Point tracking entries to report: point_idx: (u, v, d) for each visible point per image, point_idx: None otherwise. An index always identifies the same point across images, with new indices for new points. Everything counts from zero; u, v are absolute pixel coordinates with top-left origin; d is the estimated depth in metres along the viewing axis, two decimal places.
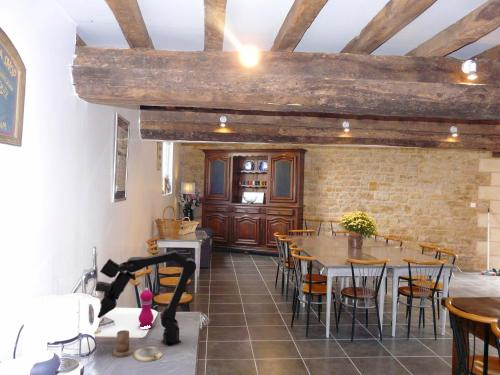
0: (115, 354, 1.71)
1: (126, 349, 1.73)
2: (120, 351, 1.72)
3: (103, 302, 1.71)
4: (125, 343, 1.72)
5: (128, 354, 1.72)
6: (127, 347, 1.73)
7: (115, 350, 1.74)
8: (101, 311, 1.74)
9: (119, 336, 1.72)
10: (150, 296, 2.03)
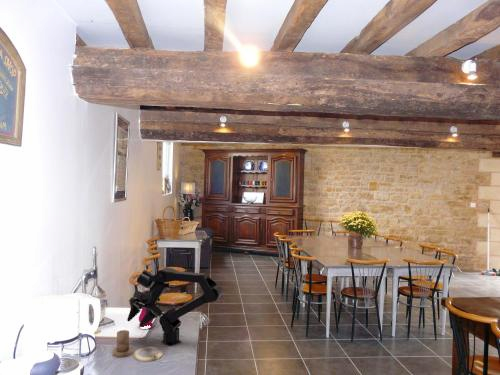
0: (115, 354, 1.71)
1: (126, 349, 1.73)
2: (120, 351, 1.72)
3: (154, 309, 1.75)
4: (125, 343, 1.72)
5: (128, 354, 1.72)
6: (127, 347, 1.73)
7: (115, 350, 1.74)
8: (145, 319, 1.76)
9: (119, 336, 1.72)
10: None
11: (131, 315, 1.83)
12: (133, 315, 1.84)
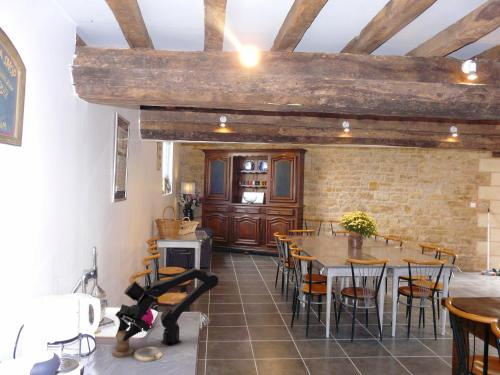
0: (115, 354, 1.71)
1: (126, 349, 1.73)
2: (120, 351, 1.72)
3: (141, 325, 1.70)
4: (125, 343, 1.72)
5: (129, 354, 1.72)
6: (127, 347, 1.74)
7: (115, 350, 1.74)
8: (129, 333, 1.72)
9: (119, 336, 1.72)
10: None
11: None
12: None
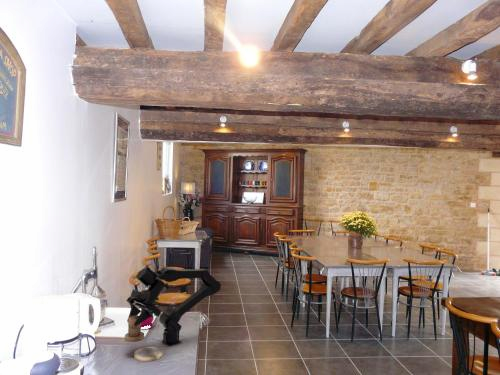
0: (127, 339, 1.71)
1: (138, 334, 1.73)
2: (132, 336, 1.72)
3: (152, 309, 1.69)
4: (136, 328, 1.72)
5: (140, 338, 1.72)
6: (139, 332, 1.73)
7: (126, 335, 1.73)
8: (140, 318, 1.72)
9: (131, 321, 1.72)
10: None
11: None
12: None
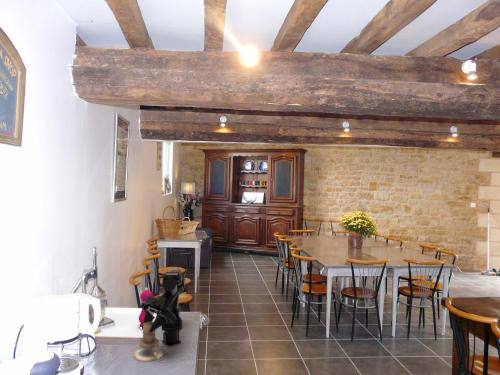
0: (142, 345, 1.70)
1: (153, 340, 1.72)
2: (147, 342, 1.71)
3: (168, 316, 1.69)
4: (151, 334, 1.71)
5: (155, 345, 1.71)
6: (154, 338, 1.72)
7: (141, 341, 1.72)
8: (155, 325, 1.71)
9: (146, 327, 1.71)
10: None
11: None
12: None
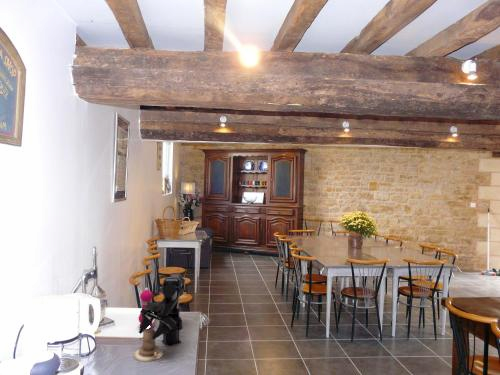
0: (142, 353, 1.70)
1: (153, 348, 1.72)
2: (147, 350, 1.71)
3: (168, 322, 1.69)
4: (151, 342, 1.71)
5: None
6: (153, 346, 1.72)
7: (141, 349, 1.72)
8: (158, 332, 1.70)
9: (146, 335, 1.71)
10: (150, 296, 2.03)
11: (143, 327, 1.76)
12: (145, 327, 1.77)
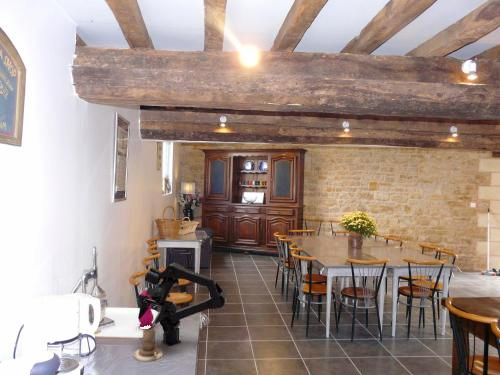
0: (142, 353, 1.70)
1: (153, 348, 1.72)
2: (147, 350, 1.71)
3: (171, 306, 1.75)
4: (151, 342, 1.71)
5: None
6: (153, 346, 1.72)
7: (141, 349, 1.72)
8: (160, 316, 1.75)
9: (146, 335, 1.71)
10: None
11: (141, 312, 1.79)
12: (143, 312, 1.80)
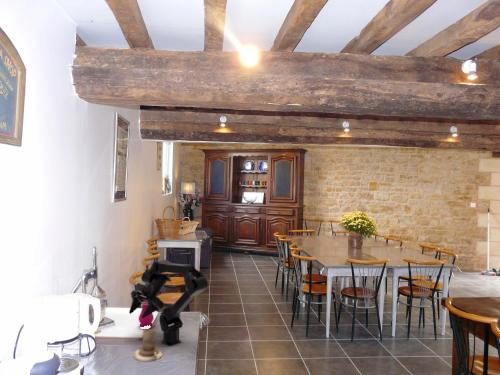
0: (141, 353, 1.70)
1: (153, 348, 1.72)
2: (147, 350, 1.71)
3: (156, 302, 1.79)
4: (151, 342, 1.71)
5: None
6: (153, 346, 1.72)
7: (141, 349, 1.72)
8: (147, 311, 1.80)
9: (146, 335, 1.71)
10: None
11: (133, 307, 1.86)
12: (135, 307, 1.87)
